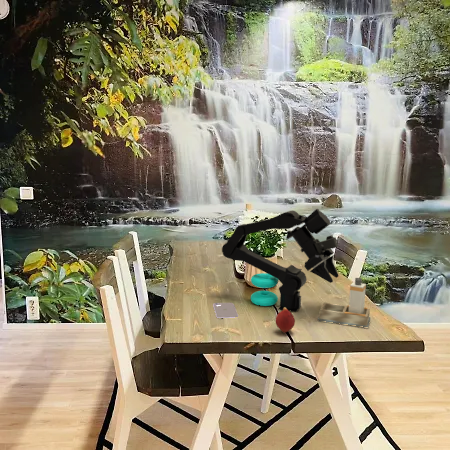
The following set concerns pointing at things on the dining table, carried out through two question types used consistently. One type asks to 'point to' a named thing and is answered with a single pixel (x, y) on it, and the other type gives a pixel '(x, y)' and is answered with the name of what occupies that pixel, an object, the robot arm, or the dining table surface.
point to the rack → (343, 315)
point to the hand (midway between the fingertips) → (334, 279)
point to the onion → (285, 320)
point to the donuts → (264, 296)
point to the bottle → (357, 296)
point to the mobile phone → (225, 310)
